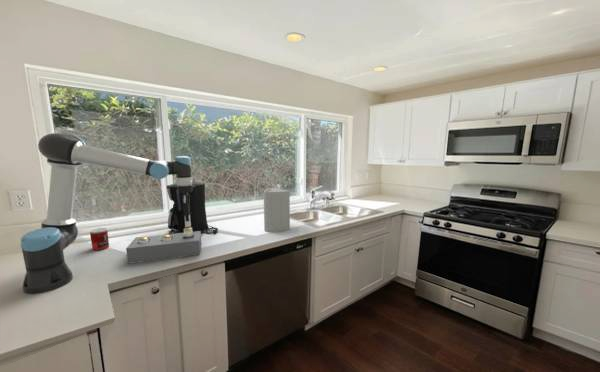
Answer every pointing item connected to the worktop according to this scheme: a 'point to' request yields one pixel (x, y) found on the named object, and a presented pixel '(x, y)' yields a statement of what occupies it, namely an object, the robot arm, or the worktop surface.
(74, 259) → the worktop surface
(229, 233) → the worktop surface
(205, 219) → the coffee maker
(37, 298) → the worktop surface
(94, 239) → the canned food
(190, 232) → the knob far
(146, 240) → the knob near
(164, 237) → the knob middle
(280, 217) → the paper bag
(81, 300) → the worktop surface
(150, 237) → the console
